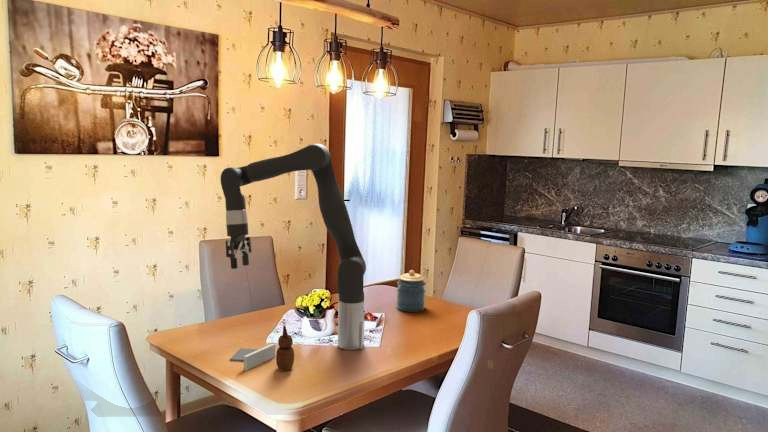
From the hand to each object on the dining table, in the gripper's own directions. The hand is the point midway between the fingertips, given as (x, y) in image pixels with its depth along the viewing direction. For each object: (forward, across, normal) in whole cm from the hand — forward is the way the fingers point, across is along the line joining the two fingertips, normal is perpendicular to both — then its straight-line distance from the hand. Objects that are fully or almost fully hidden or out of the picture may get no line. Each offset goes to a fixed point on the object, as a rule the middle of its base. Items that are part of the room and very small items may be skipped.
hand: (240, 266), depth 205 cm
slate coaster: (+29, -11, -7) cm, 32 cm away
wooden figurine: (+32, -18, -23) cm, 43 cm away
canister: (+30, +62, -49) cm, 85 cm away
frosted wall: (+30, -16, -13) cm, 37 cm away
